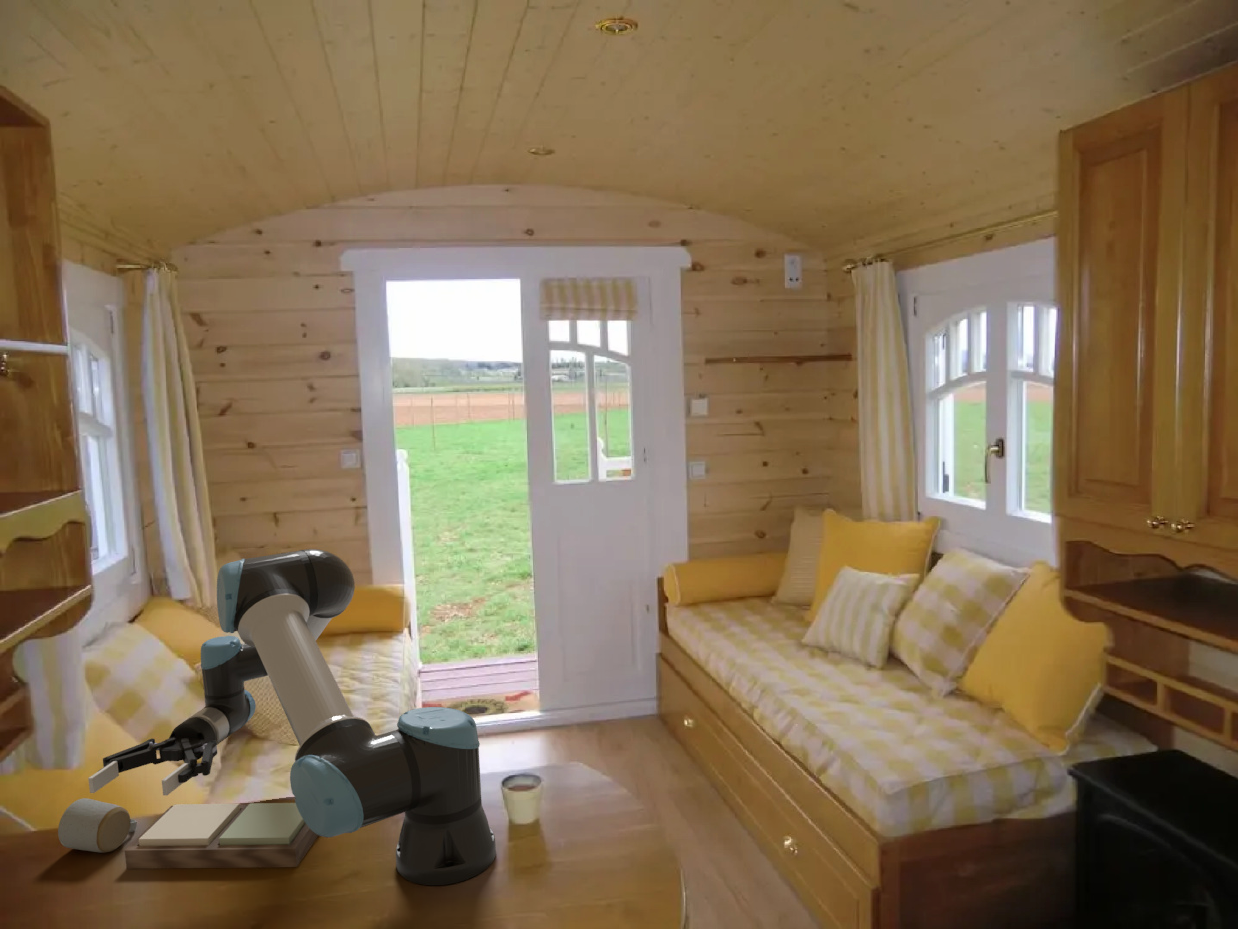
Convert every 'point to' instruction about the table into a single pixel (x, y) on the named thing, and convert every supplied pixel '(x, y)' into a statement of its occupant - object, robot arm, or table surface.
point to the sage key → (265, 825)
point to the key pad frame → (220, 853)
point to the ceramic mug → (94, 826)
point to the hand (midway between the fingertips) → (127, 787)
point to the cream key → (190, 825)
